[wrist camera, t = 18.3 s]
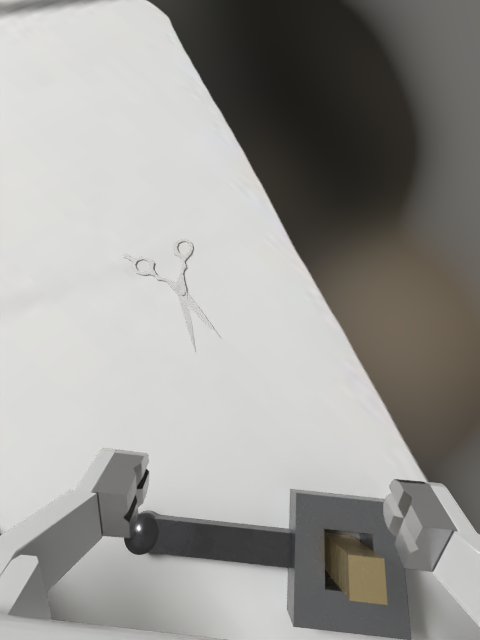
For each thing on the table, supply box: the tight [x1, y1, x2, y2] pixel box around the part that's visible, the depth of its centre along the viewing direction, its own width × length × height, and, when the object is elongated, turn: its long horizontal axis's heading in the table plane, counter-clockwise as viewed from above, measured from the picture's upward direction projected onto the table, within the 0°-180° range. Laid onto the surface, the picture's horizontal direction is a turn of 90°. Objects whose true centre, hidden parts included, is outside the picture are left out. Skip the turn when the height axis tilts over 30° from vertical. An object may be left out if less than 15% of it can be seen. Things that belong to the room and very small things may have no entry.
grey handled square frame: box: [124, 489, 411, 640], centre depth 32 cm, size 11×29×4 cm, turn 84°
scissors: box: [123, 239, 221, 352], centre depth 46 cm, size 11×1×20 cm
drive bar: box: [324, 533, 388, 605], centre depth 30 cm, size 3×3×8 cm
